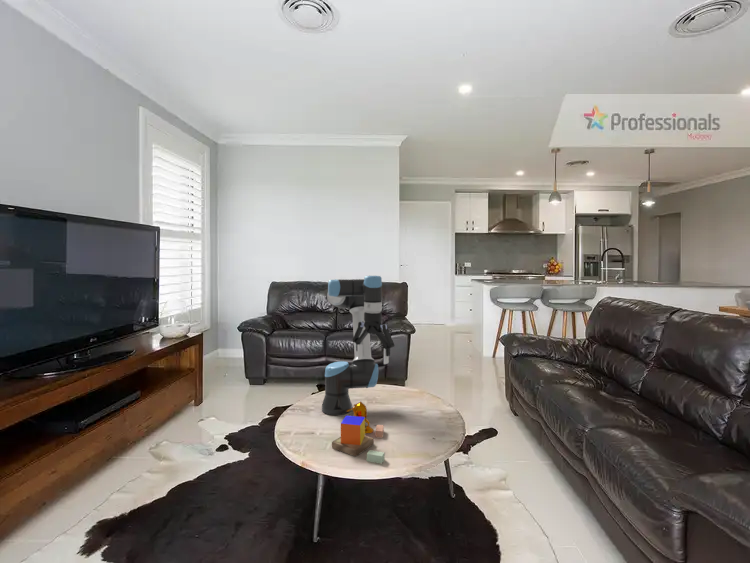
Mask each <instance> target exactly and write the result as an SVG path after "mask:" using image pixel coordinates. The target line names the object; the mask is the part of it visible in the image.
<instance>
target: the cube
mask: <svg viewBox="0 0 750 563" xmlns="http://www.w3.org/2000/svg"><path fill="white" fill-rule="evenodd" d="M365 425H366V422H365V417H358V416H354V415H345V417H344V418H343V419H342V421H341V422H340V437H341V443H343V444H353V445H361V443H362V441H363V439H364V437H365V436H366V434H365Z"/></svg>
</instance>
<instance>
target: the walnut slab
mask: <svg viewBox="0 0 750 563" xmlns="http://www.w3.org/2000/svg"><path fill="white" fill-rule="evenodd" d="M374 439H375V438H374V437H371V436H368V435H365V437H364V439H363V441H362V443H361V445H353V444H343V443H341V436H339V437H338V438H336V439H335V440H333V441H331V448H332V449H334V450H336V451H339V452H342V453H345V454H347V455H350V456H353V457H357V456H359V455H360V454H362V453H363V452H366V450H367V449H369V448H371V447H372V446H374V445H375V444H374V442H375V440H374Z"/></svg>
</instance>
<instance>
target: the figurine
mask: <svg viewBox="0 0 750 563" xmlns="http://www.w3.org/2000/svg"><path fill="white" fill-rule="evenodd" d="M353 406H354V407H353ZM353 406H352V409H350V410H351V411H352V413H353V416H358V417H365V435H367V434H373V432H375V430H374V428H372V427H371V426H370V424H371V423H370V421H369V419H367V418H368V411H367V410H368V409H367V406H366V405H365V404H364V403H363V402H362V401H359V402H358V403H357V402H356V403H354V405H353ZM350 410H347V412H348V411H350ZM351 411H350V412H351Z"/></svg>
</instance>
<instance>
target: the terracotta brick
mask: <svg viewBox="0 0 750 563" xmlns="http://www.w3.org/2000/svg"><path fill="white" fill-rule="evenodd" d="M375 426H376V427H375V438H378V439H379V438H383V437H384V429H385V428H384V425H383V424H376V425H375Z"/></svg>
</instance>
